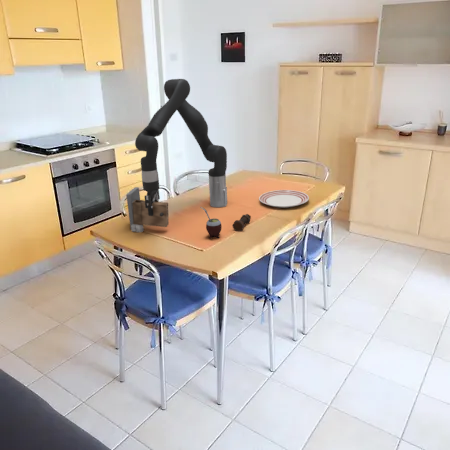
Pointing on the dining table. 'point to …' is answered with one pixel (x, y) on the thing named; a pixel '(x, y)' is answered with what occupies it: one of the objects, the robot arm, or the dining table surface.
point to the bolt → (241, 222)
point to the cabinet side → (132, 197)
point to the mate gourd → (213, 227)
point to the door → (144, 219)
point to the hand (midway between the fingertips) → (153, 212)
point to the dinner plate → (284, 198)
